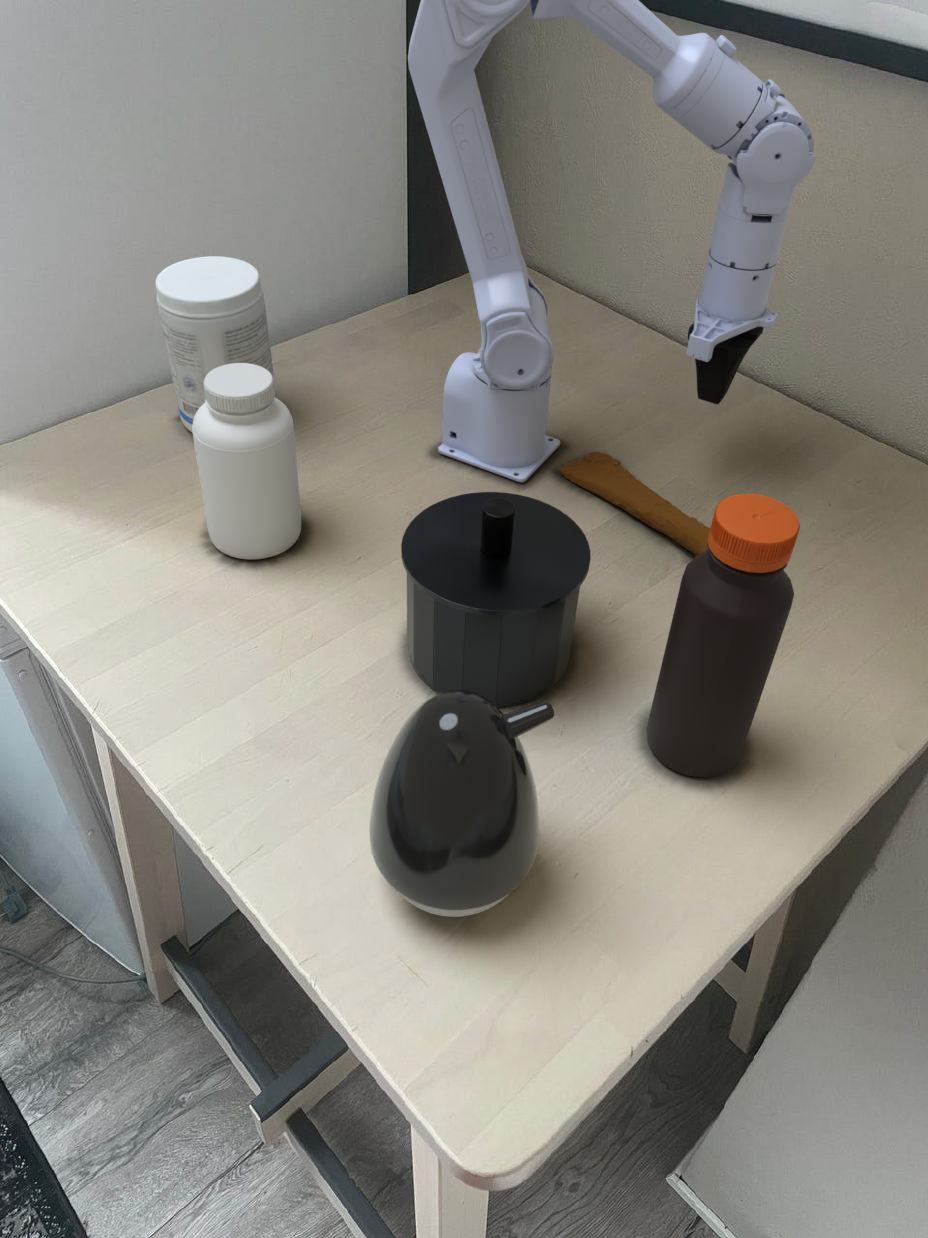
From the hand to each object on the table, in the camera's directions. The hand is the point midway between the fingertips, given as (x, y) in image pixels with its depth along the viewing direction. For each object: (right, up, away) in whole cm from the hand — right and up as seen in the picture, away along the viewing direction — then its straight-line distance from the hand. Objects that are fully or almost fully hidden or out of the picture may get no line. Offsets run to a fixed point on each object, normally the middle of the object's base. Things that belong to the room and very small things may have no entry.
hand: (710, 398), depth 96 cm
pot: (-21, -23, -16) cm, 35 cm away
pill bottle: (-41, -13, -6) cm, 43 cm away
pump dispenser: (-24, -36, -31) cm, 53 cm away
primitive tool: (-7, -11, -3) cm, 14 cm away
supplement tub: (-46, -1, +7) cm, 47 cm away
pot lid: (-21, -16, -23) cm, 34 cm away
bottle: (-7, -29, -22) cm, 38 cm away
